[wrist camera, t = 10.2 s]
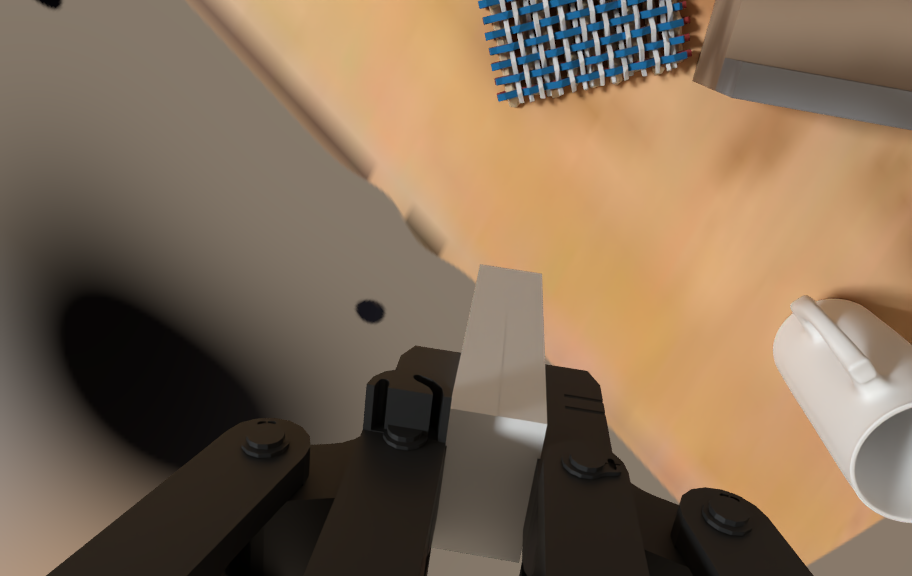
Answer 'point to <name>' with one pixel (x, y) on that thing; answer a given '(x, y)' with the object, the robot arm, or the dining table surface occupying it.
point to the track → (814, 56)
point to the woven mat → (581, 43)
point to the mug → (854, 395)
